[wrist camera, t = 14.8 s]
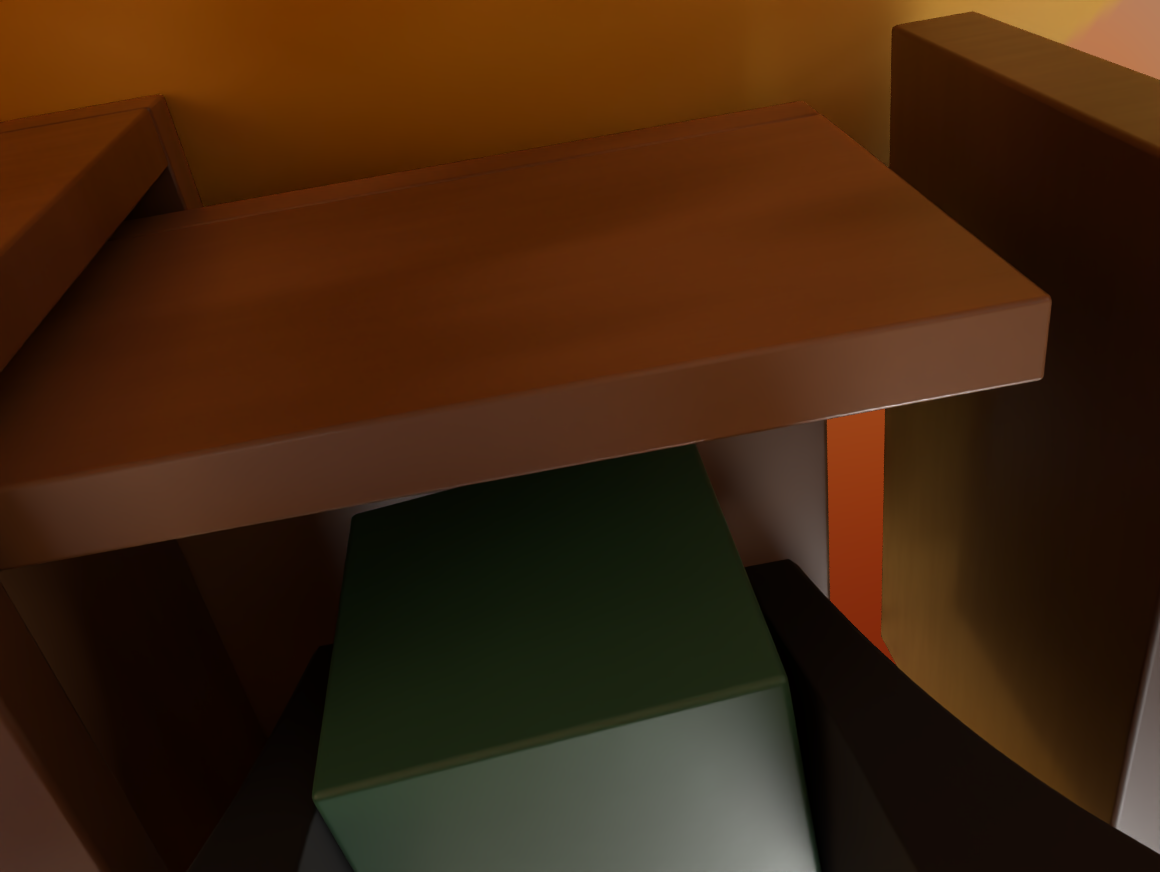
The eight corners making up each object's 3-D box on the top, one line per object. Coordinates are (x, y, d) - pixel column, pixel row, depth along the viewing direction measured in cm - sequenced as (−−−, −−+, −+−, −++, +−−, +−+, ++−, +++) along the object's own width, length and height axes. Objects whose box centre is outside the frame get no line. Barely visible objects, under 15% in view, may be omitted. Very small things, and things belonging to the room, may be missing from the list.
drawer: (1281, -44, 14) (1944, 66, 8) (1153, 585, 20) (1470, 930, 14) (-5, 183, 14) (-382, 486, 7) (258, 752, 20) (171, 1182, 13)
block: (740, 671, 15) (838, 955, 11) (452, 744, 15) (452, 1049, 11) (688, 424, 13) (788, 676, 9) (349, 512, 13) (307, 799, 9)
